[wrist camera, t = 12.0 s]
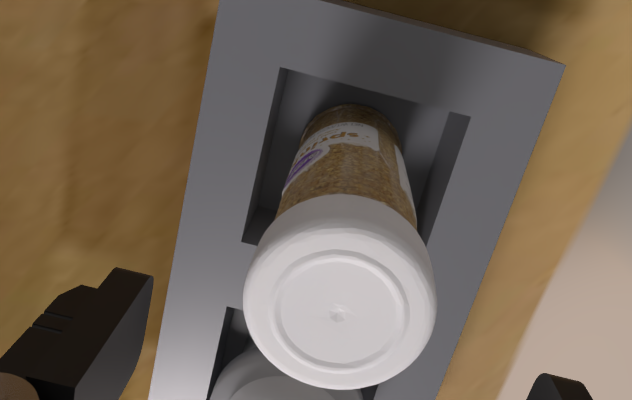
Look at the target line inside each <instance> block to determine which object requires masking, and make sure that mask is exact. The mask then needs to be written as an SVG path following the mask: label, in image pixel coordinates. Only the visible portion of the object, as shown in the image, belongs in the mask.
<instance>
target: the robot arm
mask: <svg viewBox="0 0 632 400" xmlns="http://www.w3.org/2000/svg"><path fill="white" fill-rule="evenodd" d="M152 289H153V276H150V275H146V274H142V273H138V272H134V271H130V270H126V269H122V268H118V267H116V268H114V269H113V270H112V271H111V273H110V274H109V275H108V276H107V278H106V279H105V280H104V281H103V282H102V284H101V285H100V286H99V287H98V289H97V288H92V287H88V286H84V285H80V286H78V287H76V288H73V289H71V290H69V291H67V292H65V293H63V294H61V295H59V296H58V297H57V298H56V299H55V300H54V301H53V302H52V303H51V304H50V305H49V306H48V307H47V309H46V310H45V311H44V314H41V315H40V316H39V317H38V318H37V319H36V320H35V322H34V323H33V325H32V327H29V328H28V329H27V330H26V331H25V332H24V333H23V335H22V336H21V337H20V338H19V339H18V340H17V341H16V342H15V343H14V344H13V345H12V346H11V348H10V349H9V350H8V351H7V352H6V353H5V354H4V355H3V356H2V357H1V358H0V400H118V399H119V397H120V396H121V394H122V392H123V390H124V388H125V387H126V385H127V383H128V381H129V379H130V377H131V376H132V374H133V372H134V370H135V367H136V365H137V362H138V359H139V356H140V353H141V349H142V345H143V341H144V335H145V329H146V324H147V318H148V312H149V307H150V301H151V295H152ZM526 400H593V399H592V397H591V396H590V394H589V392H588V391H587V389H586V387H585V386H584V384H582V383H581V382H579V381H575V380H571V379H567V378H563V377H559V376H555V375H551V374H547V373H543V374H541V375H539V376H538V378H537V379H536V380H535V382H534V384H533V386H532V389H531V391H530V393H529V395H528V397H527V399H526Z"/></svg>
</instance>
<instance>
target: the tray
mask: <svg viewBox="0 0 632 400" xmlns="http://www.w3.org/2000/svg"><path fill="white" fill-rule="evenodd" d="M565 67H566V65H564V64H562V63H560V62H557V61H555V60H552V59H550V58H547V57H545V56H543V55H540V54H538V53H535V52H533V51H531V50H528V49H525V48H521V47H517V46H513V45H509V44H506V43H502V42H498V41H494V40H490V39H487V38H483V37H479V36H475V35H472V34H468V33H464V32H460V31H456V30H453V29H449V28H445V27H441V26H437V25H434V24H430V23H426V22H422V21H418V20H415V19H411V18H407V17H403V16H399V15H396V14H392V13H388V12H384V11H380V10H377V9H373V8H369V7H365V6H361V5H358V4H354V3H350V2H346V1H342V0H220V1H219V7H218V12H217V18H216V24H215V29H214V35H213V40H212V46H211V51H210V57H209V63H208V68H207V74H206V79H205V85H204V91H203V96H202V102H201V107H200V113H199V118H198V124H197V130H196V135H195V141H194V146H193V152H192V158H191V163H190V169H189V174H188V180H187V185H186V191H185V197H184V202H183V208H182V213H181V219H180V225H179V230H178V236H177V241H176V247H175V252H174V258H173V264H172V269H171V275H170V280H169V286H168V292H167V297H166V303H165V308H164V314H163V320H162V325H161V331H160V336H159V342H158V347H157V353H156V359H155V364H154V370H153V375H152V381H151V387H150V392H149V398H148V400H435V399H436V396H437V394H438V391H439V388H440V386H441V383H442V381H443V378H444V376H445V373H446V371H447V368H448V365H449V363H450V360H451V358H452V355H453V353H454V350H455V348H456V345H457V343H458V340H459V337H460V335H461V332H462V330H463V327H464V325H465V322H466V320H467V317H468V314H469V312H470V309H471V307H472V304H473V302H474V299H475V297H476V294H477V291H478V289H479V286H480V284H481V281H482V279H483V276H484V274H485V271H486V269H487V266H488V263H489V261H490V258H491V256H492V253H493V251H494V248H495V246H496V243H497V240H498V238H499V235H500V233H501V230H502V228H503V225H504V223H505V220H506V217H507V215H508V212H509V210H510V207H511V205H512V202H513V200H514V197H515V195H516V192H517V189H518V187H519V184H520V182H521V179H522V177H523V174H524V172H525V169H526V166H527V164H528V161H529V159H530V156H531V154H532V151H533V149H534V146H535V143H536V141H537V138H538V136H539V133H540V131H541V128H542V126H543V123H544V121H545V118H546V115H547V113H548V110H549V108H550V105H551V103H552V100H553V98H554V95H555V92H556V90H557V87H558V85H559V82H560V80H561V77H562V75H563V72H564V69H565ZM343 104H356V105H361V106H367V107H370V108H372V109H374V110H376V111H378V112H380V113H381V114H383V115H384V116H385V117H386V118H387V119H388V120H389V121H390V122H391V124H392V125H393V127H394V128H395V129H396V131H397V134H398V137H399V140H400V142H401V146H402V157H403V160H404V164H405V167H406V172H407V176H408V180H409V184H410V189H411V193H412V198H413V203H414V207H415V212H416V218H417V232H418V234H419V236H420V237H421V239H422V241H423V243H424V244H425V247H426V249H427V252H428V254H429V258H430V262H431V266H432V270H433V275H434V282H435V288H436V295H437V313H436V321H435V324H434V328H433V331H432V334H431V336H430V339H429V341H428V342H427V344H426V346H425V347H424V349H423V350H422V352H421V353H420V355H419V356H418V357H417V358H416V359H415V360H414V361H413V362H412V363H411V365H409V366H408V367H407V368H406V369H405V370H403V371H402V372H400V373H399V374H397V375H395V376H394V377H392V378H390V379H388V380H386V381H384V382H381V383H379V384H376V385H372V386H368V387H364V388H359V389H351V390H336V389H327V388H321V387H316V386H313V385H309V384H306V383H303V382H301V381H299V380H297V379H295V378H293V377H290V376H289V375H287V374H285V373H284V372H282V371H281V370H280V369H278V368H277V367H276V366H275V365H273V364H272V363H271V362H270V361H269V360H268V359H267V358H266V357H265V356H264V355H263V353H262V352H261V351H260V350H259V348H258V347H257V345H256V344H255V342H254V340H253V339H252V337H251V335H250V332H249V330H248V327H247V324H246V320H245V317H244V312H243V289H244V284H245V280H246V276H247V272H248V269H249V267H250V264H251V261H252V258H253V256H254V253H255V251H256V248H257V246H258V244H259V242H260V240H261V238H262V236H263V234H264V233H265V231H266V230H267V229H268V227H269V226H270V225H271V224H272V223H273V222H274V220H275V217H276V214H277V211H278V208H279V205H280V202H281V199H282V191H283V189H284V186H285V183H286V181H287V178H288V175H289V172H290V170H291V167H292V164H293V162H294V159H295V156H296V154H297V152H298V150H299V144H300V140H301V137H302V134H303V132H304V130H305V129H306V127H307V125H308V124H309V123H310V122H311V121H312V120H313V119H314V117H315V116H317V115H318V114H320V113H322V112H323V111H326V110H328V109H329V108H332V107H335V106H338V105H343Z"/></svg>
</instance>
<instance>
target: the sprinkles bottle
mask: <svg viewBox="0 0 632 400" xmlns="http://www.w3.org/2000/svg"><path fill="white" fill-rule="evenodd" d="M243 312H244V317H245V320H246V324H247V327H248V330H249V332H250V335H251V337H252V339H253V340H254V342H255V344H256V345H257V347H258V348H259V350H260V351H261V352H262V353H263V355H264V356H265V357H266V358H267V359H268V360H269V361H270V362H271V363H272V364H273V365H275V366H276V367H277V368H278V369H280V370H281V371H282V372H284V373H285V374H287V375H289V376H290V377H293V378H295V379H297V380H299V381H301V382H303V383H306V384H309V385H313V386H316V387H321V388H327V389H336V390H351V389H359V388H364V387H368V386H372V385H376V384H379V383H381V382H384V381H386V380H388V379H390V378H392V377H394V376H395V375H397V374H399V373H400V372H402V371H403V370H405V369H406V368H407V367H408V366H409V365H411V363H412V362H413V361H414V360H415V359H416V358H417V357H418V356H419V355H420V353H421V352H422V350H423V349H424V347H425V346H426V344H427V342H428V341H429V339H430V336H431V334H432V331H433V328H434V324H435V321H436V313H437V295H436V288H435V282H434V275H433V270H432V266H431V262H430V258H429V254H428V252H427V249H426V247H425V244H424V243H423V241H422V239H421V237H420V236H419V234H418V232H417V218H416V212H415V207H414V203H413V198H412V193H411V189H410V184H409V180H408V176H407V172H406V167H405V164H404V160H403V157H402V146H401V142H400V140H399V137H398V134H397V131H396V129H395V128H394V127H393V125H392V124H391V122H390V121H389V120H388V119H387V118H386V117H385V116H384V115H383V114H381V113H380V112H378V111H376V110H374V109H372V108H370V107H367V106H361V105H356V104H343V105H338V106H335V107H332V108H329V109H328V110H326V111H323V112H322V113H320V114H318V115H317V116H315V117H314V119H313V120H312V121H311V122H310V123H309V124H308V125H307V127H306V129H305V130H304V132H303V134H302V137H301V140H300V144H299V150H298V152H297V154H296V156H295V159H294V162H293V164H292V167H291V170H290V172H289V175H288V178H287V181H286V183H285V186H284V189H283V191H282V199H281V202H280V205H279V208H278V211H277V214H276V217H275V220H274V222H273V223H272V224H271V225H270V226H269V227H268V229H267V230H266V231H265V233H264V234H263V236H262V238H261V240H260V242H259V244H258V246H257V248H256V251H255V253H254V256H253V258H252V261H251V264H250V267H249V269H248V272H247V276H246V280H245V284H244V289H243Z"/></svg>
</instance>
